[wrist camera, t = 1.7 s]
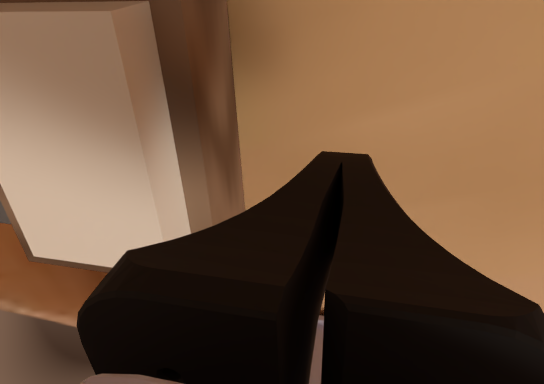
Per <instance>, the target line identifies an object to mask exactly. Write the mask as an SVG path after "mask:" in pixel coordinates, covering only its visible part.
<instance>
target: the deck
mask: <svg viewBox="0 0 544 384" xmlns="http://www.w3.org/2000/svg"><path fill="white" fill-rule="evenodd" d="M108 1H149V5H150V10H151V16H152V21H153V27H154V32H155V38H156V43H157V49H158V54H159V60H160V65H161V71H162V76H163V82H164V87H165V93H166V99H167V104H168V110H169V115H170V121H171V126H172V132H173V137H174V143H175V148H176V154H177V159H178V165H179V170H180V176H181V181H182V187H183V192H184V198H185V203H186V209H187V215H188V220H189V226H190V231H191V234H192V233H195V232H198V231H201V230H203V229H206V228H209V227H211V226H214V225H216V224H218V223H221V222H223V221H225V220H227V219H229V218H232V217H234V216H236V215H238V214H240V213H242V212H244V211H245V205H244V193H243V182H242V170H241V159H240V148H239V136H238V125H237V113H236V102H235V91H234V79H233V68H232V56H231V45H230V34H229V22H228V11H227V0H0V3H32V2H108ZM0 201H1V203H2V205H3V207H4V209H5V211H6V214H7V216H8V218H9V220H10V222H11V224H12V226H13V228H14V231H15V233H16V235H17V237H18V239H19V241H20V243H21V245H22V247H23V250H24V252H25V254H26V256H27V258H28V260H29V261H32V262H39V263H45V264H52V265H59V266H66V267H73V268H79V269H86V270H93V271H100V272H106V273H109V271H110V270H111V269H112V267H105V266H98V265H91V264H84V263H77V262H70V261H63V260H56V259H49V258H42V257H35V256H33V254H32V251H31V249H30V247H29V245H28V243H27V241H26V238H25V236H24V234H23V232H22V230H21V228H20V225H19V223H18V221H17V219H16V217H15V215H14V212H13V210H12V208H11V206H10V204H9V201H8V199H7V197H6V195H5V193H4V191H3V188H2V186H1V184H0Z"/></svg>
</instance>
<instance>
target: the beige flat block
mask: <svg viewBox="0 0 544 384" xmlns="http://www.w3.org/2000/svg"><path fill="white" fill-rule="evenodd" d="M0 184H1V186H2V188H3V191H4V193H5V195H6V197H7V199H8V201H9V204H10V206H11V208H12V210H13V212H14V215H15V217H16V219H17V221H18V223H19V225H20V228H21V230H22V232H23V234H24V236H25V238H26V241H27V243H28V245H29V247H30V249H31V251H32V254H33V256H35V257H42V258H49V259H56V260H63V261H70V262H77V263H84V264H91V265H98V266H105V267H112V268H113V266H114V265H115V264H116V263H117V262H118V260H119V259H120V258H121V257H122V256H123V255H124V254H125V252H126V251H127V250H131V249H136V248H140V247H145V246H149V245H153V244H157V243H161V242H165V241H169V240H173V239H176V238H179V237H183V236H186V235H189V234H191V231H190V226H189V220H188V215H187V209H186V203H185V198H184V192H183V187H182V181H181V176H180V170H179V165H178V159H177V154H176V148H175V143H174V137H173V132H172V126H171V121H170V115H169V110H168V104H167V99H166V93H165V87H164V82H163V76H162V71H161V65H160V60H159V54H158V49H157V43H156V38H155V32H154V27H153V21H152V16H151V10H150V5H149V1H108V2H32V3H0Z"/></svg>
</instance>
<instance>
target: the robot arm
mask: <svg viewBox="0 0 544 384" xmlns="http://www.w3.org/2000/svg"><path fill="white" fill-rule="evenodd" d="M324 293H325V306H324V316H322V315H319V314H320V309H321V305H322V301H323V297H324ZM77 328H78V332H79V335H80V339H81V342H82V345H83V347H84V349H85V352H86V354H87V356H88V358H89V361H90V363H91V365H92V367H93V369H94V372H95V374H96V375H94V376H90V377H89V378H87V379H86V380H84V381H83V382H81V383H80V384H544V313H543V311H542V309H541V307H540V306H539V305H538V304H536V303H535V302H533V301H531V300H529V299H527V298H525V297H523V296H521V295H519V294H517V293H516V292H514V291H512V290H510V289H508V288H506V287H504V286H502V285H500V284H498V283H497V282H495V281H493V280H491V279H489V278H488V277H486V276H484V275H483V274H481V273H480V272H478V271H476V270H475V269H473V268H472V267H470V266H468V265H467V264H465V263H464V262H462V261H461V260H459V259H458V258H457V257H455V256H454V255H452V254H451V253H449V252H448V251H447V250H446V249H444V248H443V247H442V246H440V245H439V244H438V243H437V242H435V241H434V240H433V239H432V238H430V237H429V236H428V235H427V234H426V233H425V232H424V231H422V230H421V229H420V228H419V227H418V226H417V225H416V224H415V223H414V222H413V221H412V220H411V219H410V218H409V217H408V215H407V214H406V213H405V212H404V211H403V210H402V208H401V207H400V206H399V205H398V203H397V202H396V201H395V199H394V198H393V197H392V195H391V194H390V192H389V191H388V189H387V188H386V186H385V185H384V183H383V181H382V180H381V178H380V176H379V174H378V173H377V171H376V169H375V167H374V164H373V162H372V159H371V157H370V156H369V155H368V154H355V153H340V152H325V151H322V152H321V153H319V154H318V155H317V156H316V157H315V158H314V159H313V160H312V161H311V162H310V163H309V164H308V165H307V166H306V167H305V168H304V169H303V170H302V171H301V172H299V173H298V174H297V175H296V176H295V177H294V178H293V179H291V180H290V181H289V182H288V183H287V184H286V185H284V186H283V187H282V188H280V189H279V190H278V191H276V192H275V193H274V194H272V195H271V196H270V197H268V198H266V199H265V200H263V201H262V202H260V203H258V204H257V205H255V206H253V207H251V208H250V209H248V210H246V211H244V212H242V213H240V214H238V215H236V216H234V217H232V218H229V219H227V220H225V221H223V222H221V223H218V224H216V225H214V226H211V227H209V228H206V229H203V230H201V231H198V232H195V233H192V234H189V235H186V236H183V237H179V238H176V239H173V240H169V241H165V242H161V243H157V244H153V245H149V246H145V247H140V248H136V249H131V250H127V251H126V252H125V254H124V255H123V256H122V257H121V258H120V259H119V260H118V262H117V263H116V264H115V265H114V266H113V268H112V269H111V270H110V271H109V273H108V274H107V275H106V276H105V278H104V279H103V280H102V281H101V282H100V284H99V285H98V286H97V287H96V289H95V290H94V291H93V292H92V294H91V295H90V296H89V297H88V299H87V300H86V301H85V303H84V304H83V306H82V307H81V309H80V310H79V312H78V318H77Z"/></svg>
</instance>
